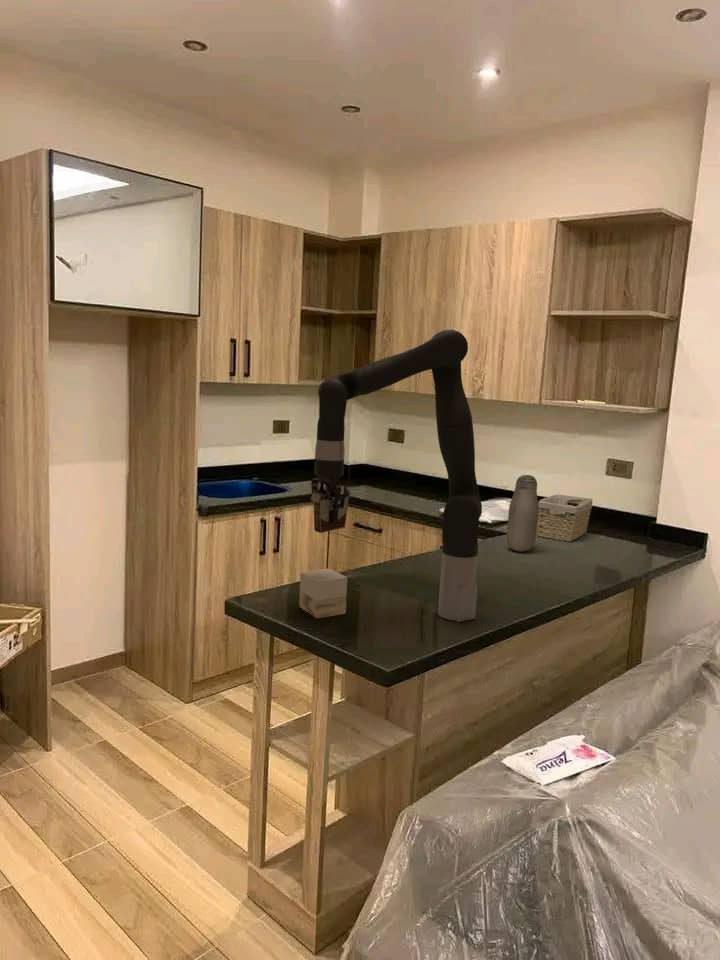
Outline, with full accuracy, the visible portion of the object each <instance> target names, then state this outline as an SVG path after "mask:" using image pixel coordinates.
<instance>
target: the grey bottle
mask: <svg viewBox="0 0 720 960" xmlns="http://www.w3.org/2000/svg"><path fill="white" fill-rule="evenodd" d="M537 481H538V480H537V479H536V477H535V476H534V475H530V474H522V475H520V476H519V477H517V479H516V481H515V488H514V491H513V495H512V497H511V500H510V503H509V508H508V515H507V516H508V517H507V518H508V519H507V528H506V529H507V530H506V531H507V533H506V539H507V545H508V546H509V548H510V549H511V550H513V551H516V552H519V553H520V552H521V553H522V552H527V551H529V550H531V549H532V548H533V546H534V545H535V542H536V537H537V530H538V529H537V528H538V526H537V525H538V514H539V506H538V502H539V501H538V482H537Z"/></svg>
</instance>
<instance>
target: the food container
mask: <svg viewBox="0 0 720 960" xmlns="http://www.w3.org/2000/svg"><path fill="white" fill-rule="evenodd" d="M330 497H331V498H334V497H335V496H333V495H330ZM350 498H351V492H350V490H349V489H347V490H346V497H345V503H344V508H342V509H339V510H338V522H337V524H329V510H330V508H329V501H328V496H326V495H325V494H322V493H318V492H317V490H314V492H313V493H312V492H311V498H310V501H312V503H313V523H314V525H313V526H314V527H313V528H314V531H315V532H317V533H319V534H323V533H327V532H331V531H336V530H340V529H345V528H346V523H347V514H348V506H349V499H350ZM340 502H341V500H339V504H340ZM333 505H334V501H333Z"/></svg>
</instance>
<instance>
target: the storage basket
mask: <svg viewBox="0 0 720 960" xmlns="http://www.w3.org/2000/svg"><path fill="white" fill-rule="evenodd" d="M571 504H572V505H571ZM574 505H575V506H574ZM538 506H539V514H538V522H537V530H536V536H538V537H544V538H548V539H553V540H556V541H563V542H564V541H565V542H573V541H574V540H576V539H578V538H580V537H582V536H583V535H585V534H586V533H587V531H588V525H589V522H590V521H589V520H590V515H591V512H592V508H593V499H592V498H586V497H580V496H573V495H565V494H559V493H558V494H552V495H550V496H548V497H545V498H542V499H540V500H539V501H538Z"/></svg>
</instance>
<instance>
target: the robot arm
mask: <svg viewBox="0 0 720 960" xmlns="http://www.w3.org/2000/svg"><path fill="white" fill-rule="evenodd" d="M468 350H469V343H468V340H467V338H466V337H465V335H464V334H463V333H462V332H459V331H457V330H455V329H444V330H442V331H440V332H437V333H436V334H434V335H433V336H432V337H431V339H429V340H427V341H425V342H424V343H422V344H421V345H418V346H416V347H413V348H411V349H408V350H405V351H403V352H401V353H397V354H395V355H390V356H387V357H385V358H381V359H378V360H376V361H375V360H374V361H373V362H370V363H368V364H366V365H363V366H360V367H358V368H356V369H354V370H352V371H349V372H345V373H342V374H338V375H336V376H333V377H330V378H328V379H325V380H324V381H322V382H321V383H320V384H319V387H318V391H317V396H318V398H319V399H318V401H319V403H318V405H319V406H318V417H319V418H318V420H317V424H316V425H317V427H316V443H315V449H314V452H315V453H314V472H313V473H314V475H315V476H317V477H316V478H311V479H310V481H311V486H310V487H311V494H312V493H313V492H314V490H317V492H318V493H322V494H325V495H326V496H328V501H329V508H330V510H329V524H337V522H338V510H339V509H342V508H344V503H345V497H346V490H348V489H347V485H344V486H342V485H341V483H340V478H341V477H343V476H344V474H345V473H344V469H345V451H346V449H345V431H346V430H345V428H346V427H345V417H346V410H347V402H348V401H349V400H351V399H353V398H356V397H359V396H365V395H369V394H372V393H375V392H376V391H377V392H378V391H379V390H382V389H385V388H387V387H389V386H392V385H394V384H396V383H399V382H401V381H403V380H405V379H408V378H409V377H412V376H415V375H417V374H420V373H423V372H426V371H429V370H431V374H432V379H433V382H434V383H433V384H434V393H435V394H434V396H435V398H434V399H435V403H434V404H435V416H436V417H435V418H436V429H437V440H438V446H439V450H440V453H441V457H442V459H443V463H444V465H445V469H446V473H447V479H448V480H447V481H448V501H446V504H445V505H444V507H443V514H442V515H443V516H442V534H441V543H442V544H441V545H442V554H441V566H440V567H441V568H440V578H439V579H440V582H439V594H438V607H437V614H438V616H439V617H441V618H443V619H446V620H449V621H454V622H456V623H461V622H465V621H469V620H470V621H471V620H475V619H476V611H477V598H478V587H479V585H478V584H477V583H476V575H477V565H478V563H477V562H478V553H479V544H478V542H479V541H478V539H479V538H478V537H479V525H480V524H479V523H480V518H481V516H482V512H483V505H482V500H481V496H480V495H481V494H480V492H479V487H478V482H477V477H476V451H475V450H476V449H475V448H476V447H475V435H474V434H475V433H474V423H473V417H472V413H471V409H470V408H471V407H470V404H469V402H468V399H467V395H466V392H465V390H464V387H463V379H462V361H463V360H464V359H465V358H466V356H467V354H468ZM330 495H333V496H335V497H334V498H331V497H330ZM339 500H341V502H340V504H339ZM333 501H334V505H333Z"/></svg>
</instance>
